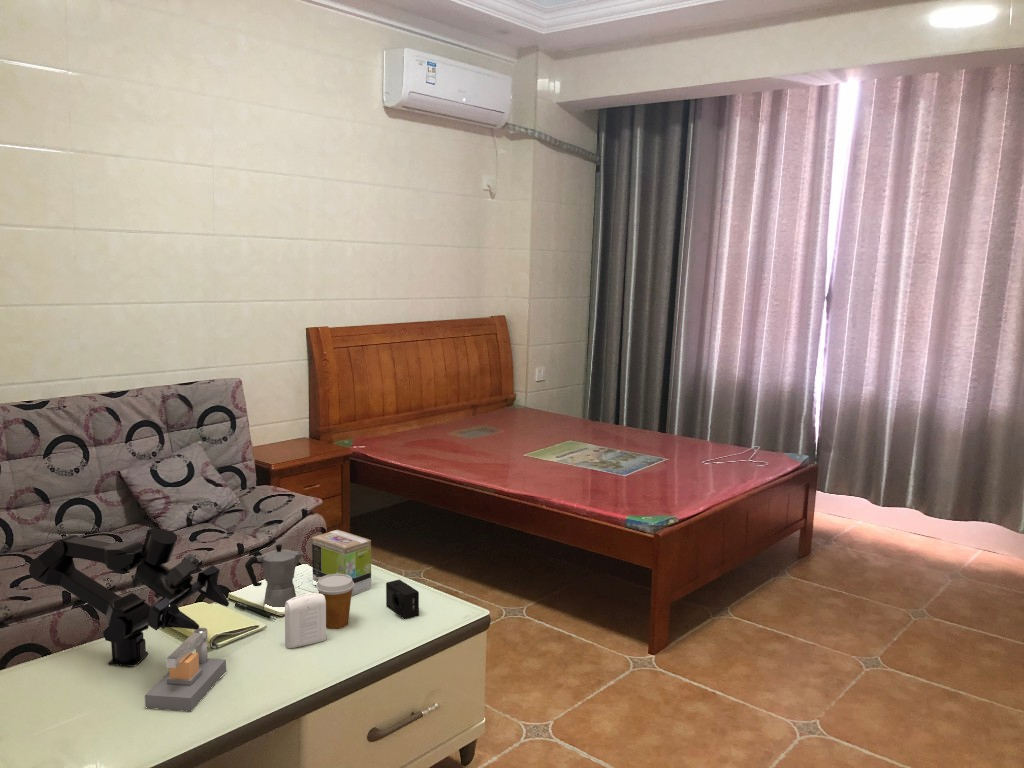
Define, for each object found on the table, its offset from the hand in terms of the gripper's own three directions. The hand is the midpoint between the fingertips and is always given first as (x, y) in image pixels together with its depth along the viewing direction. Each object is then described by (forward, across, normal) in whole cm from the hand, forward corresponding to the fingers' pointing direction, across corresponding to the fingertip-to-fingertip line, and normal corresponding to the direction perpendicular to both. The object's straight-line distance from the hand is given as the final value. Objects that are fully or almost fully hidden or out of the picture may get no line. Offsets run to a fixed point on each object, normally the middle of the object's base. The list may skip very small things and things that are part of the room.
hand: (213, 616), depth 186 cm
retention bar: (0, -6, +6) cm, 9 cm away
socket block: (+4, -9, +13) cm, 16 cm away
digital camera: (+26, +45, +14) cm, 54 cm away
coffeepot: (-3, +32, +25) cm, 41 cm away
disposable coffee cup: (+15, +32, +16) cm, 39 cm away
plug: (+4, -10, +13) cm, 17 cm away
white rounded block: (+14, +20, +15) cm, 29 cm away
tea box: (+5, +52, +26) cm, 58 cm away
